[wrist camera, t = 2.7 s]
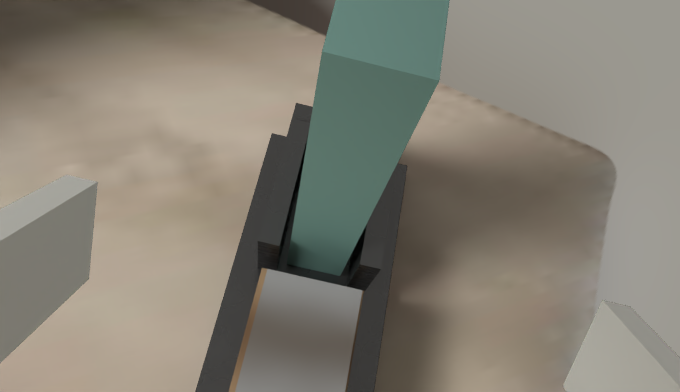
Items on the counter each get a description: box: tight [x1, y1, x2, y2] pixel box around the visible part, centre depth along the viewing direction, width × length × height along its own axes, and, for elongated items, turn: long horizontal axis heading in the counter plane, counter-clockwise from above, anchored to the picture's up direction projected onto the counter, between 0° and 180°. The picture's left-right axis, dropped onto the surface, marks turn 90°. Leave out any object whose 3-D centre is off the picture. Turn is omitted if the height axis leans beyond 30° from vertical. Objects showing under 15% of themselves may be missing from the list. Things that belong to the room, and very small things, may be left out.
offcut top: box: [235, 269, 362, 392], centre depth 26 cm, size 7×5×3 cm
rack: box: [195, 103, 407, 392], centre depth 30 cm, size 21×10×6 cm, turn 169°
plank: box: [287, 0, 449, 276], centre depth 25 cm, size 7×4×20 cm, turn 169°
